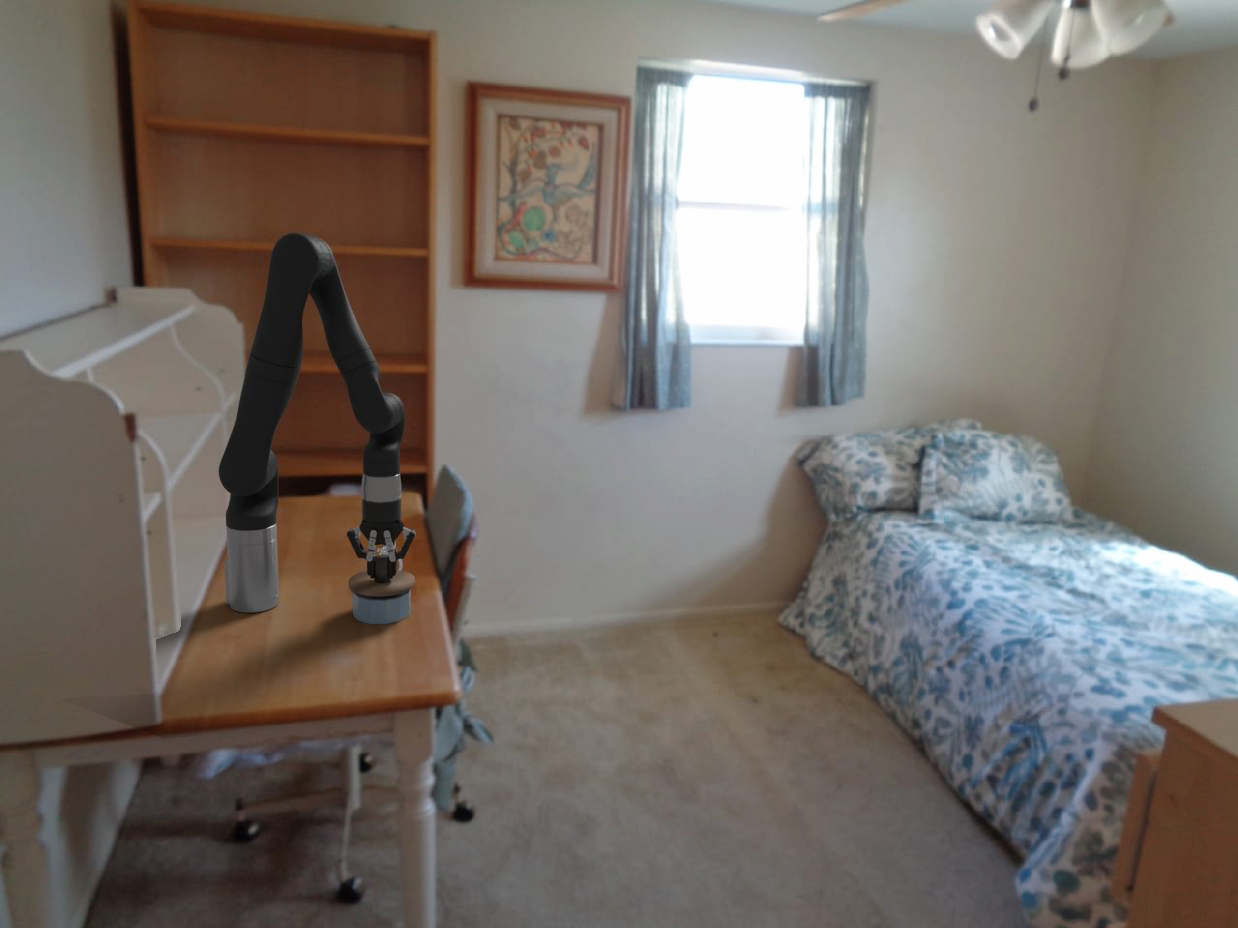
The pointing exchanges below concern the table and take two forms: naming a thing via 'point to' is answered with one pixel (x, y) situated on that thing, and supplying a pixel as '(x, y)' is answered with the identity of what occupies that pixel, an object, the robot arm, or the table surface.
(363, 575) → the lid
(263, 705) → the table surface
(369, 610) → the bowl
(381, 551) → the ring
